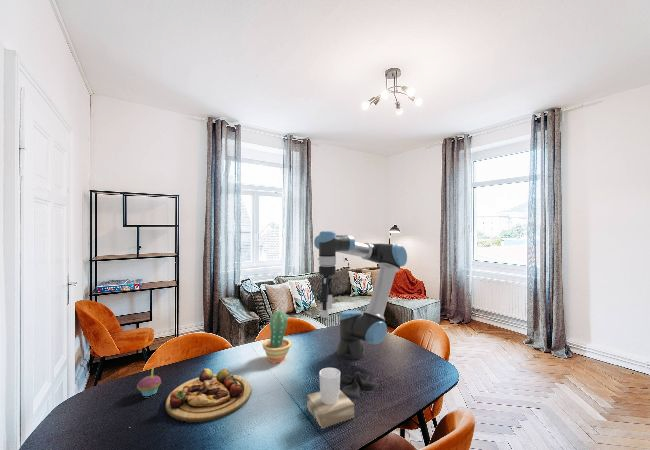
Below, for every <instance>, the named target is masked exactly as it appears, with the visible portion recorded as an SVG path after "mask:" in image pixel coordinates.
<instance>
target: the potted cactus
mask: <svg viewBox="0 0 650 450" xmlns="http://www.w3.org/2000/svg"><path fill="white" fill-rule="evenodd" d="M288 318H289V316H288V314H287V313H286V312H285V311H283V310H281V309H280V310H278V309H276V310H275V311H274V312H273V313H272V315H270V318H269V329H270V338H269V339H267V340H264V342H263V343H262V349H263V351H265V354H266V356H267V358H268V359H269V360H268V362H270V363H274V364H277V363H282V362H284V361H285V360H286V356H287V355H288V353H289V350H290V348H291V347H292V341H291V340H290V339H288V338H284V337H285V332H286V329H287V327H288Z"/></svg>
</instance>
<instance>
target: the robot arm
mask: <svg viewBox="0 0 650 450" xmlns="http://www.w3.org/2000/svg"><path fill="white" fill-rule="evenodd" d="M336 233H337V232H336V231H325V230H324V231H323V230H322V231H319V234H318V235H316V237H315V238H314V240H313V241H314V242H313V244H314V247H315V248H316V249H317V250H318V258H317V260H318V265H319V266H318V274H319V275H320V276H323V278H321V291H320V299H319V303H321V314H320V315H321V318H323V319H326V318H329V310H333V295H334V294H335V293H334V290H333V276H334V275H336V262H337V261H336V259H337V258H336V257H337V256H336V255H337V253H341V254H345V255H348V256H349V255H350V256H355V257H360V258H361V259H363V260H364V261H365V260H366V261H370V262H373V263H376V264H378V266H379V271H378V274H377V277H376V281H375V285H374V288H373V290H372V294H371V298H370V301H369V303H368V306H367V309H366V310H365V311H363V313H362V311H361V310H357V309H353V310H352V309H349V310H345V311H342V312H340V314H339V341H338V343H337V347H336V355H337V356H338V357H339V358H342V359H345V360H358V359H362V358H363V357H364V356H365V347H364V344H363V342H366V343H367V344H372V345H378V344H381V342H383V341H384V339H386V336H387V332H388V329H387V328H388V326H387V324H386V323H385V321H386V318H385V317H384V314H385V311H386V307H387V303H388V300H389V298H390V297H389V296H390V293H391V289H392V287H393V284H394V283H393V282H394V279H395V276H396V273H398V272H399V271H400V269H401V267H404V266H405V265H406V264H407V261H408V254H407V250H406V248H405V247H404V246H403V245H402V244H397V243H369V242H364V243H361V242H357V241H356V238H354V236H353V235H348V234H346V235H345V234H344V235H341V234H340V235H338V234H336ZM362 341H363V342H362Z"/></svg>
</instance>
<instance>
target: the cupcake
mask: <svg viewBox="0 0 650 450" xmlns="http://www.w3.org/2000/svg"><path fill="white" fill-rule="evenodd" d="M154 369H155V368H154V367H151V371H150V372H151V373H150V375H147V376H145V377H143V378H142V379H140V380H139V381H138V383H137V384H136V389H137V390H138V391H139V392H141V395H142V397H143V396H150V395H152V394H155V393H156V394H157V391H158V389H159V386H160V385H161V384H162V379H161V377H160V376H158V375H155V374H154ZM156 394H155V395H156Z"/></svg>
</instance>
